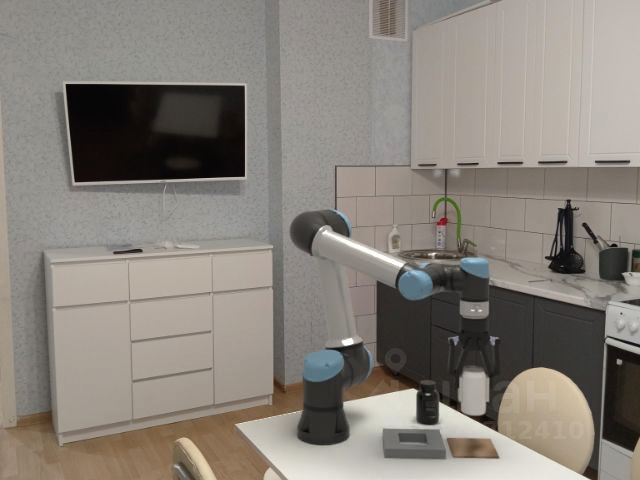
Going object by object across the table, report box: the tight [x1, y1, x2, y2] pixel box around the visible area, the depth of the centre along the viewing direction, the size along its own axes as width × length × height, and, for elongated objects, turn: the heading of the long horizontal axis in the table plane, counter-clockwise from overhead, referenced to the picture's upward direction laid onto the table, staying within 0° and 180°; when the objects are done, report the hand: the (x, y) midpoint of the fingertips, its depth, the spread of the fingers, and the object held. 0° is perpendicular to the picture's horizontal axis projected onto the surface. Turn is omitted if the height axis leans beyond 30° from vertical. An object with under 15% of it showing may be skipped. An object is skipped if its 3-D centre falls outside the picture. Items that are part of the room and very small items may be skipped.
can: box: [460, 365, 487, 417], centre depth 176 cm, size 6×6×12 cm
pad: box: [446, 437, 500, 459], centre depth 177 cm, size 12×12×1 cm
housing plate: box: [382, 428, 447, 460], centre depth 178 cm, size 16×14×2 cm
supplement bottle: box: [415, 379, 440, 426], centre depth 197 cm, size 7×7×12 cm
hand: (473, 399), depth 176 cm, fingers closed on can, 6 cm apart
